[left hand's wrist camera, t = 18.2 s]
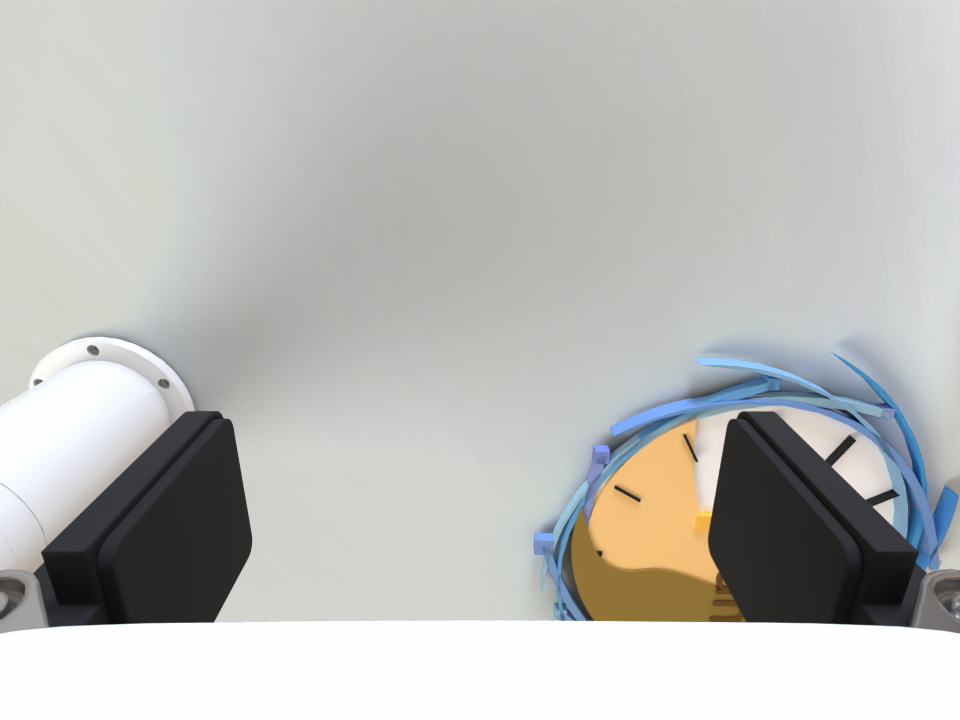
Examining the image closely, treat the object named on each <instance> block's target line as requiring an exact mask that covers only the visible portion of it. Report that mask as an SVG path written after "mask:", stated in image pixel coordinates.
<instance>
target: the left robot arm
mask: <svg viewBox="0 0 960 720" xmlns="http://www.w3.org/2000/svg"><path fill="white" fill-rule="evenodd" d="M251 547H252V533H251V528H250V522H249V516H248V510H247V504H246V498H245V493H244V487H243V481H242V475H241V469H240V463H239V458H238V452H237V446H236V440H235V434H234V428H233V424H232V422H231V420H229V419H224V418H223V416H222V414H221V413H220V412H218V411H195V408H194V405H193V402H192V398H191V396H190V394H189V392H188V390H187V388H186V387H185V385H184V383H183V382H182V381H181V379H180V378H179V377H178V375H177V374H176V373H175V372H174V371H173V370H172V369H171V368H170V367H169V366H168V365H167V364H166V363H165V362H164V361H163V360H161V359H160V358H158V357H157V356H155V355H154V354H153V353H151V352H150V351H148V350H146V349H144V348H142V347H140V346H137V345H135V344H133V343H130V342H126V341H123V340H120V339H115V338H107V337H86V338H82V339H78V340H74V341H71V342H69V343H66V344H64V345H62V346H60V347H58V348H56V349H55V350H53V351H52V352H50V353H49V354H47V355H46V356H45V357H44V358H43V359H42V360H41V361H40V362H39V363H38V364H37V366H36V368H35V370H34V371H33V373H32V375H31V378H30V382H29V386H28V391H26V392H24V393H23V394H21V395H19V396H17V397H16V398H14V399H12V400H11V401H9V402H7V403H6V404H4V405H2V406H0V720H960V570H953V569H947V570H935V571H933V572H931V573H928V574H927V573H926V572H925V571H924V570H923V569H922V568H921V567H920V566H919V565H918V564H917V563H916V560H917V557H918V554H919V551H918V550H917V549H916V548H914V547H913V546H912V545H911V544H910V543H909V542H908V541H907V540H906V539H905V538H904V537H903V536H902V535H901V534H900V533H899V532H898V531H897V530H896V529H895V528H894V527H893V526H892V525H891V524H890V523H889V522H888V521H887V520H886V519H885V518H884V517H883V516H882V515H881V514H880V513H879V512H878V511H876V510H875V509H874V508H873V507H872V506H871V505H870V504H869V503H868V502H867V501H866V500H865V499H864V498H863V497H862V496H861V495H860V494H859V493H858V492H857V491H856V490H855V489H854V488H853V487H852V486H851V485H850V484H849V483H848V482H847V481H846V480H845V479H844V478H843V477H842V476H841V475H840V474H838V473H837V472H836V471H835V470H834V469H833V468H832V467H831V466H830V465H829V464H828V463H827V462H826V461H825V460H824V459H823V458H822V457H821V456H820V455H819V454H818V453H817V452H816V451H815V450H814V449H813V448H812V447H811V446H810V445H809V444H808V443H807V442H806V441H805V440H804V439H803V438H802V437H800V436H799V435H798V434H797V433H796V432H795V431H794V430H793V429H792V428H791V427H790V426H789V425H788V424H787V423H786V422H785V421H784V420H783V419H782V418H781V417H780V416H779V415H778V414H777V413H775V412H774V411H742V412H740V413H739V414H738V416H737V418H736V419H731V420H729V422H728V424H727V428H726V434H725V440H724V446H723V452H722V457H721V463H720V469H719V475H718V481H717V487H716V492H715V498H714V504H713V510H712V516H711V522H710V528H709V533H708V547H709V552H710V555H711V557H712V559H713V561H714V563H715V565H716V567H717V569H718V571H719V572H720V574H721V576H722V578H723V580H724V582H725V584H726V586H727V587H728V589H729V591H730V593H731V595H732V597H733V599H734V601H735V602H736V604H737V606H738V608H739V610H740V612H741V614H742V616H743V617H744V619H745V621H746V623H736V622H625V621H321V622H234V623H214V621H215V619H216V617H217V616H218V614H219V612H220V610H221V608H222V606H223V604H224V602H225V601H226V599H227V597H228V595H229V593H230V591H231V589H232V587H233V586H234V584H235V582H236V580H237V578H238V576H239V574H240V572H241V571H242V569H243V567H244V565H245V563H246V561H247V559H248V557H249V555H250V552H251Z"/></svg>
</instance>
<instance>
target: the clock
mask: <svg viewBox="0 0 960 720" xmlns="http://www.w3.org/2000/svg"><path fill="white" fill-rule="evenodd" d="M831 353H832V352H831ZM833 354H834V353H833ZM834 355H835V356H836V357H838V358H839V359H840V360H841V361H843V362H844V363H845V364H846V365H848V366H849V367H850V368H851V369H853V370H854V371H855V372H856V373H858V374H859V375H860V376H861V377H863V378H864V380H865V381H866V382H867V383H868V384H869V385H870V386H871V387H872V389H873V390H874V391H875V392H876V393H877V394H878V395H879V397H880V398H881V399H882V400H883V401H884V402H885V403H875V404H874V403H870V402H866V401H862V400H858V399H853V398H849V397H842V396H835V395H832V394H830V393H829V392H827V391H826V390H824V389H823V388H821V387H819V386H818V385H815V384H813V383H811V382H809V381H807V380H805V379H802V378H800V377H798V376H796V375H794V374H792V373H789V372H786V371H783V370H781V369H777V368H774V367H771V366H767V365H763V364H759V363H754V362H749V361H743V360H736V359H727V358H706V357H701V358H695V359H696V360H697V361H698V362H699V363H700V364H701V365H705V366H713V367H722V368H730V369H739V370H747V371H753V372H757V373H761V374H763V377H762V378H758V379H755V380H752V381H748V382H745V383H742V384H739V385H735V386H732V387H729V388H726V389H724V390H721V391H719V392H716V393H714V394H711V395H709V396H701V397H695V398H690V399H685V400H680V401H676V402H672V403H668V404H665V405H661V406H658V407H655V408H652V409H649V410H646V411H644V412H641V413H638V414H636V415H634V416H631V417H629V418H627V419H625V420H622V421H620V422H618V423H616V424H614V425H612V426H610V428H611V431H612V433H613V435H614V436H615V435H618V434H621V433H624V432H626V431H629V430H632V429H634V428H637V427H640V426H643V425H645V424H648V423H651V422H654V421H656V420H658V421H656V422H655V423H653V424H651V425H650V426H648V427H647V428H645V429H644V430H642V431H640V432H639V433H637V434H636V435H635V436H633V437H632V438H631V439H629V440H628V441H627V442H625V443H624V444H623V445H621V446H620V447H619V448H617V449H616V450H614V451H613V452H612V453H611V454H610V450H609V447H608V445H593V454H592V459H593V461H592V464H591V467H590V469H589V472H588V475H587V478H586V480H585V481H584V483H583V484H582V485H581V486H580V487H579V489H578V490H577V491H576V493H575V494H574V496H573V497H572V499H571V500H570V502H569V503H568V505H567V506H566V508H565V510H564V511H563V513H562V514H561V516H560V518H559V520H558V522H557V524H556V526H555V528H554V530H553V533H535V534H534V554H535V555H544V556H545V557H544V561H543V566H542V573H541V592H542V590H543V586H544V581H545V577H546V573H547V569H549V572H550V574H551V576H552V579H553V581H554V583H555V585H556V587H557V597H558V603H554V617H555V619H561V620H562V621H592V620H591V619H590V618H589V617H588V616H587V615H586V614H585V612H584V611H583V609H582V608H581V607H580V605H579V604H578V602H577V601H576V599H575V598H574V597H573V595H572V594H571V592H570V590H569V588H568V586H567V584H566V582H565V580H564V578H563V576H562V574H561V566H562V557H563V554H564V551H565V548H566V544H567V541H568V538H569V535H570V557H571V563H572V569H573V574H574V579H575V583H576V586H577V589H578V592H579V595H580V597H581V599H582V601H583V603H584V605H585V607H586V609H587V611H588V613H589V614H590V615H591V617H592V618H593V620H594V621H625V622H736V623H746V621H745V619H744V617H743V616H742V614H741V612H740V610H739V608H738V606H737V604H736V602H735V601H734V599H733V597H732V595H731V593H730V591H729V589H728V587H727V586H726V584H725V582H724V580H723V578H722V576H721V574H720V572H719V571H718V569H717V567H716V565H715V563H714V561H713V559H712V557H711V555H710V552H709V547H708V533H709V528H710V522H711V516H712V510H713V504H714V498H715V492H716V487H717V481H718V475H719V469H720V463H721V457H722V452H723V446H724V440H725V434H726V428H727V424H728V422H729V420H731V419H736V418H737V416H738V414H739V413H740V412H742V411H774V412H775V413H777V414H778V415H779V416H780V417H781V418H782V419H783V420H784V421H785V422H786V423H787V424H788V425H789V426H790V427H791V428H792V429H793V430H794V431H795V432H796V433H797V434H798V435H799V436H800V437H802V438H803V439H804V440H805V441H806V442H807V443H808V444H809V445H810V446H811V447H812V448H813V449H814V450H815V451H816V452H817V453H818V454H819V455H820V456H821V457H822V458H823V459H824V460H825V461H826V462H827V463H828V464H829V465H830V466H831V467H832V468H833V469H834V470H835V471H836V472H837V473H838V474H840V475H841V476H842V477H843V478H844V479H845V480H846V481H847V482H848V483H849V484H850V485H851V486H852V487H853V488H854V489H855V490H856V491H857V492H858V493H859V494H860V495H861V496H862V497H863V498H864V499H865V500H866V501H867V502H868V503H869V504H870V505H871V506H872V507H873V508H874V509H875V510H876V511H878V512H879V513H880V514H881V515H882V516H883V517H884V518H885V519H886V520H887V521H888V522H889V523H890V524H891V525H892V526H893V527H894V528H895V529H896V530H897V531H898V532H899V533H900V534H901V535H902V536H903V537H904V538H905V539H906V540H907V541H908V542H909V543H910V544H911V545H912V546H913V547H914V548H916V549H917V550H918V551H919V554H918V557H917V560H916V563H917V564H918V565H919V566H920V567H921V568H922V569H923V570H924V571H935V570H938V569H939V567H940V564H941V562H942V560H941V559H940V558H939V557H938V549H939V547H940V545H941V543H942V541H943V539H944V537H945V535H946V533H947V530H948V528H949V525H950V523H951V520H952V517H953V515H954V511H955V508H956V504H957V501H958V495H957V494H956V493H954V492H953V491H952V490H950V489H949V488H948V487H947V486H945V487H944V489H943V492H942V494H941V497H940V499H939V502H938V504H937V507H936V509H935V512H934V515H933V516H932V513H931V510H930V507H929V504H928V501H927V482H926V476H925V470H924V464H923V460H922V457H921V454H920V451H919V448H918V445H917V442H916V440H915V437H914V435H913V433H912V431H911V430H910V428H909V426H908V424H907V422H906V420H905V419H904V417H903V415H902V413H901V412H900V410H899V409H898V407H897V406H896V405H895V403H894V402H893V401H892V400H891V398H890V397H889V396H888V395H887V394H886V393H885V392H884V390H883V389H882V388H881V387H880V386H879V385H877V384H876V383H875V382H874V381H873V380H872V379H871V378H870V377H868V376H867V375H866V374H865V373H863V372H862V371H861V370H859V369H858V368H856V367H855V366H853V365H852V364H850V363H849V362H847V361H846V360H844V359H843V358H841V357H839V356H838V355H836V354H834ZM781 379H784V380H788V381H792V382H794V383H797V384H799V385H801V386H803V387H806V388H808V389H810V390H813V391H815V392H817V393H810V392H782V391H781V392H766V393H762V392H765V391H769V390H779V388H780V384H781ZM837 409H843V410H847V411H848V412H849V413H850V414H851V415H852V416H853V417H854V418H852V417H851V416H849V415H848V414H845V413H843V412H841V411H838V410H837ZM857 412H859V413H864V414H868V415H873V416H877V417H878V418H879V419H893V417H894V418H895V420H896V421H897V423H898V425H899V427H900V428H901V430H902V432H903V434H904V437H905V440H906V443H907V447H908V450H909V453H910V456H911V459H912V467H913V471H912V470H911V469H910V467H909V466H908V465H907V463H906V462H905V461H904V460H903V458H902V457H901V456H900V455H899V453H898V452H896V451H895V450H894V449H893V448H892V447H891V446H890V445H889V444H888V443H886V442H885V441H884V440H883V439H882V438H881V436H880V435H879V434H878V433H877V431H876V430H875V429H874V428H873V427H872V425H870V424H869V423H868V422H867V421H866V420H865V419H863V418H862V417H861V416H860V415H859V414H858V413H857ZM906 494H907V495H906ZM907 497H908V499H909V501H910V505H911V515H910V519H909V522H908V503H907ZM562 529H563V530H562ZM561 532H562V533H561ZM560 534H561V537H560V542H559V547H558V551H557V559H556V561H555V558H554V555H553V551H554V548H555V546H556V543H557V541H558V539H559V536H560ZM561 597H562V599H563V601H564V602H565V603H562V600H561ZM566 605H567V607H568V609H569V610H570V611H569V610H568V609H567V608H566Z"/></svg>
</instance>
